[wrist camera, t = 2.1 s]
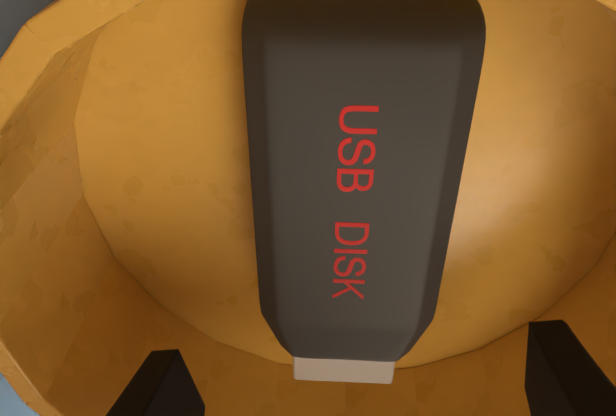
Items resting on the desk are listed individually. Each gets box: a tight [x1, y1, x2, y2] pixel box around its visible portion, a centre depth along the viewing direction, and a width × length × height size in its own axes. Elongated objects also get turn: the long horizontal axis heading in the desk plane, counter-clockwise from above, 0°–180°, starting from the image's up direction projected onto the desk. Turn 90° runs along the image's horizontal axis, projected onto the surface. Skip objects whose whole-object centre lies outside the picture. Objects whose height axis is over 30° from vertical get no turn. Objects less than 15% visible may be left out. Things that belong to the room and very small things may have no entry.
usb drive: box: [241, 0, 486, 384], centre depth 16 cm, size 5×12×3 cm, turn 0°
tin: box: [0, 0, 616, 416], centre depth 15 cm, size 17×17×6 cm
